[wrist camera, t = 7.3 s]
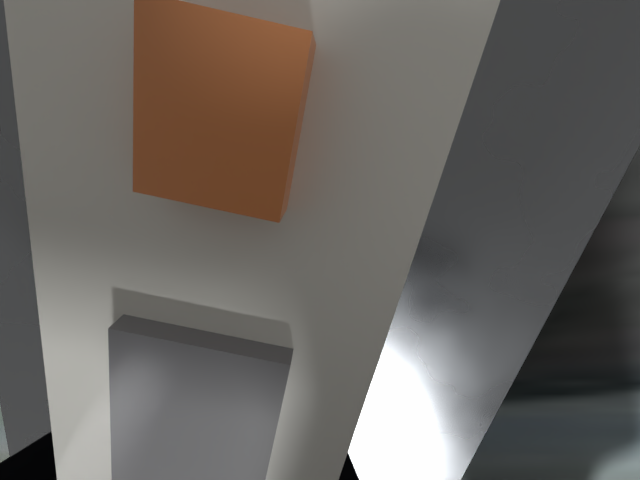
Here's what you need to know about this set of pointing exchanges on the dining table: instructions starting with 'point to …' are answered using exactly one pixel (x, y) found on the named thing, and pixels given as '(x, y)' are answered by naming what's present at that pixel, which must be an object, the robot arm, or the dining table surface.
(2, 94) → the keyhole board
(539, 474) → the dining table surface
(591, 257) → the dining table surface
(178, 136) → the power strip
